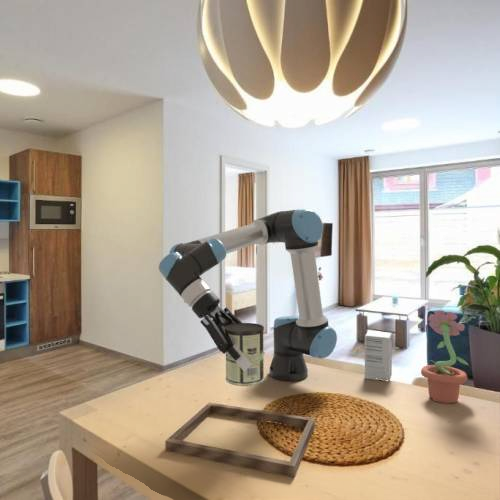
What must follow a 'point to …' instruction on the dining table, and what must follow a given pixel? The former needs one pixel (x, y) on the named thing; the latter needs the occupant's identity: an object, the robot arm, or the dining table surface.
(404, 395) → the dining table surface
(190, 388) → the dining table surface
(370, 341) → the supplement box
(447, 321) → the decorative flower
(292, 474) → the walnut frame
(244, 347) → the coffee can
